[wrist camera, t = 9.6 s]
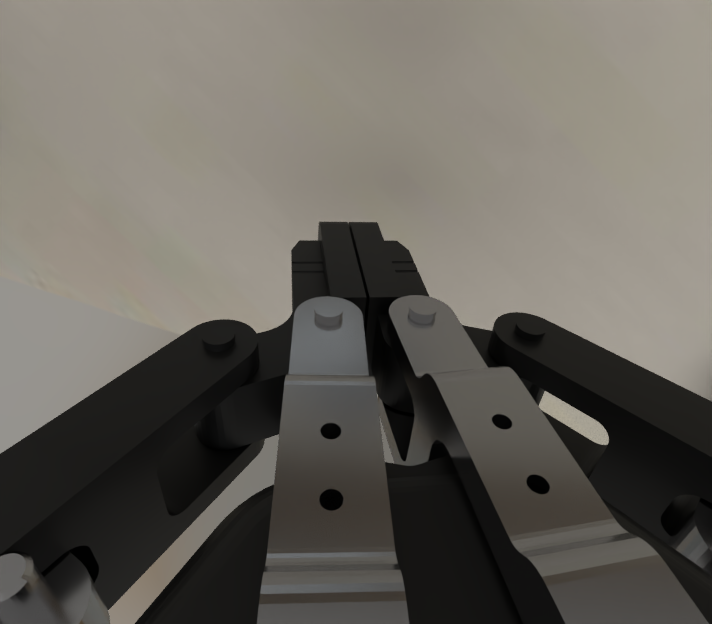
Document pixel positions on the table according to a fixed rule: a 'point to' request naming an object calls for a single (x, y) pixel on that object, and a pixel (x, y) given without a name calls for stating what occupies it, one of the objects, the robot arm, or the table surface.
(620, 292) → the table surface
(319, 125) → the table surface
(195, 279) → the table surface
